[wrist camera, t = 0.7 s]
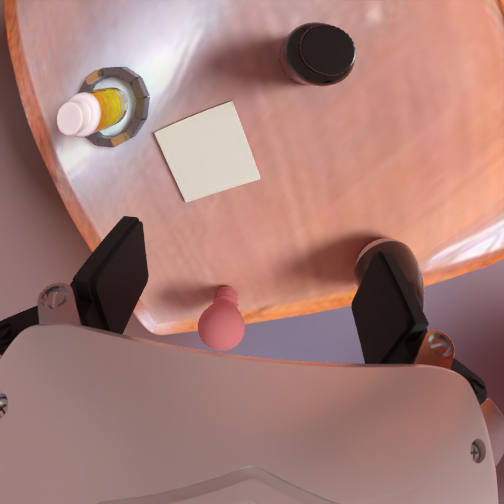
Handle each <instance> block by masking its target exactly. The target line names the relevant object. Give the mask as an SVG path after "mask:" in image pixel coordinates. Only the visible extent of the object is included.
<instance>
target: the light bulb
mask: <svg viewBox="0 0 504 504" xmlns="http://www.w3.org/2000/svg"><path fill="white" fill-rule="evenodd" d="M198 332H199V335H200V337H201V339H202V341H203V342H204V343H205V344H206V345H207V346H208V347H210V348H212V349H215V350H223V351H224V350H229V349H231V348H233V347H235V346H236V345H237V344H238V343H239V342H240V341H241V340H242V338H243V335H244V332H245V323H244V320H243V317H242V315H241V313H240V312H239V310H238V304H237V292H236V291H235V290H234V289H233V288H231V287H227V286H225V287H221V288H219V289H218V291H217V294H216V297H215V300H214V302H213V304H212V305H211V306H209V307H208V308H207V309H206V310H205V311H204V312H203V313H202V315H201V317H200V319H199V322H198Z"/></svg>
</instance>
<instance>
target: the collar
mask: <svg viewBox="0 0 504 504" xmlns="http://www.w3.org/2000/svg"><path fill="white" fill-rule="evenodd" d="M107 76H119V77H121V78H122V79H124V80H125V81H127V82H128V83H130V84H131V87H132V89H133V92H134V94H135V97H136V99H137V101H136V111H135V118H134V119H133V121H132V122H131V124H130V126H129V127H128V129H127V130H126V132H124V133H121V134H120V135H118V136H104V135H103V134H101V133H100V132H99V131H97V132H95V133H93V134H90V135H88V136H85V137H86V138H87V139H89V140H90V141H91V142H93V143H94V144H95V145H98V146H107V147H115V146H117V145H119V144H121V143H123V142H125V141H127V140H128V139H130V138H132V137H134V136H135V135H137V133H138V132H139V130H140V128H141V127H142V125H143V124H144V122H145V121H146V117H148V107H149V99H150V97H148V96H149V93H148V91H147V89H146V86H145V84H144V81H143V79H142V78H141V76H139V75H138V74H136V73H135V72H133V71H132V70H130V69H129V68H127V67H111V68H102V69H100V70H95V71H94V72H92V73H91V74H90V75H88V76H87V77H86V78H85V82H84V84H83V86H82V88H81V89H80V91H79V93H82V92H87V91H92V90H93V88H94V87H95V85H96V84H97V83H98V82H100V81H101V80H103V79H104V78H106V77H107Z"/></svg>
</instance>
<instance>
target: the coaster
mask: <svg viewBox="0 0 504 504" xmlns="http://www.w3.org/2000/svg"><path fill="white" fill-rule="evenodd" d="M154 134H155V136H156V138H157V140H158V143H159V145H160V147H161V149H162V152H163V154H164V156H165V158H166V161H167V163H168V165H169V167H170V169H171V172H172V174H173V176H174V178H175V180H176V183H177V185H178V187H179V189H180V191H181V193H182V195H183V198H184V200H185V202H189V201H192V200H195V199H198V198H201V197H204V196H207V195H210V194H213V193H217V192H220V191H223V190H226V189H229V188H232V187H236V186H239V185H242V184H246V183H249V182H252V181H256V180H259V179H260V175H259V172H258V169H257V167H256V164H255V161H254V158H253V155H252V153H251V150H250V147H249V144H248V141H247V139H246V136H245V133H244V131H243V128H242V125H241V122H240V120H239V117H238V114H237V112H236V109H235V106H234V104H233V101H230V102H228V103H225V104H222V105H219V106H216V107H214V108H211V109H208V110H206V111H203V112H201V113H198V114H196V115H193V116H191V117H188V118H186V119H184V120H181V121H179V122H177V123H174V124H172V125H170V126H167V127H165V128H163V129H161V130H159V131H157V132H155V133H154Z"/></svg>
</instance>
